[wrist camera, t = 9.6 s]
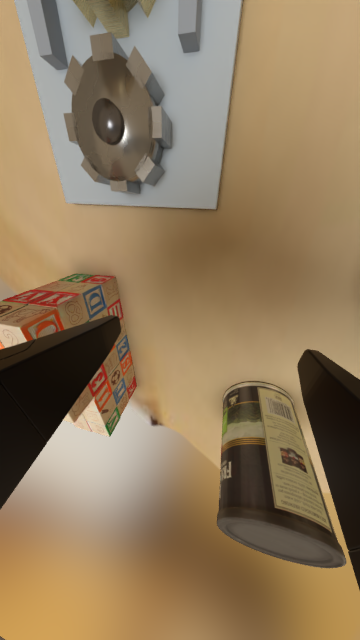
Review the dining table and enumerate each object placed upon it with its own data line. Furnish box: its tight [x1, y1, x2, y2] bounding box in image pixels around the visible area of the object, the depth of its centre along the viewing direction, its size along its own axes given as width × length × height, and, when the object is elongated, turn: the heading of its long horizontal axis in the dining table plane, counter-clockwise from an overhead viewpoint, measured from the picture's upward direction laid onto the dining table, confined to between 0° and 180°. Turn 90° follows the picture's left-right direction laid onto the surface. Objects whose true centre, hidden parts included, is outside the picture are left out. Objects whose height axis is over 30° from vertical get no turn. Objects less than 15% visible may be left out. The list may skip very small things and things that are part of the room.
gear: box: [63, 32, 172, 194], centre depth 13 cm, size 7×7×3 cm
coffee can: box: [217, 382, 346, 568], centre depth 22 cm, size 10×10×14 cm
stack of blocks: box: [0, 274, 137, 437], centre depth 23 cm, size 21×6×12 cm, turn 0°
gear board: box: [14, 0, 243, 209], centre depth 11 cm, size 15×18×3 cm
